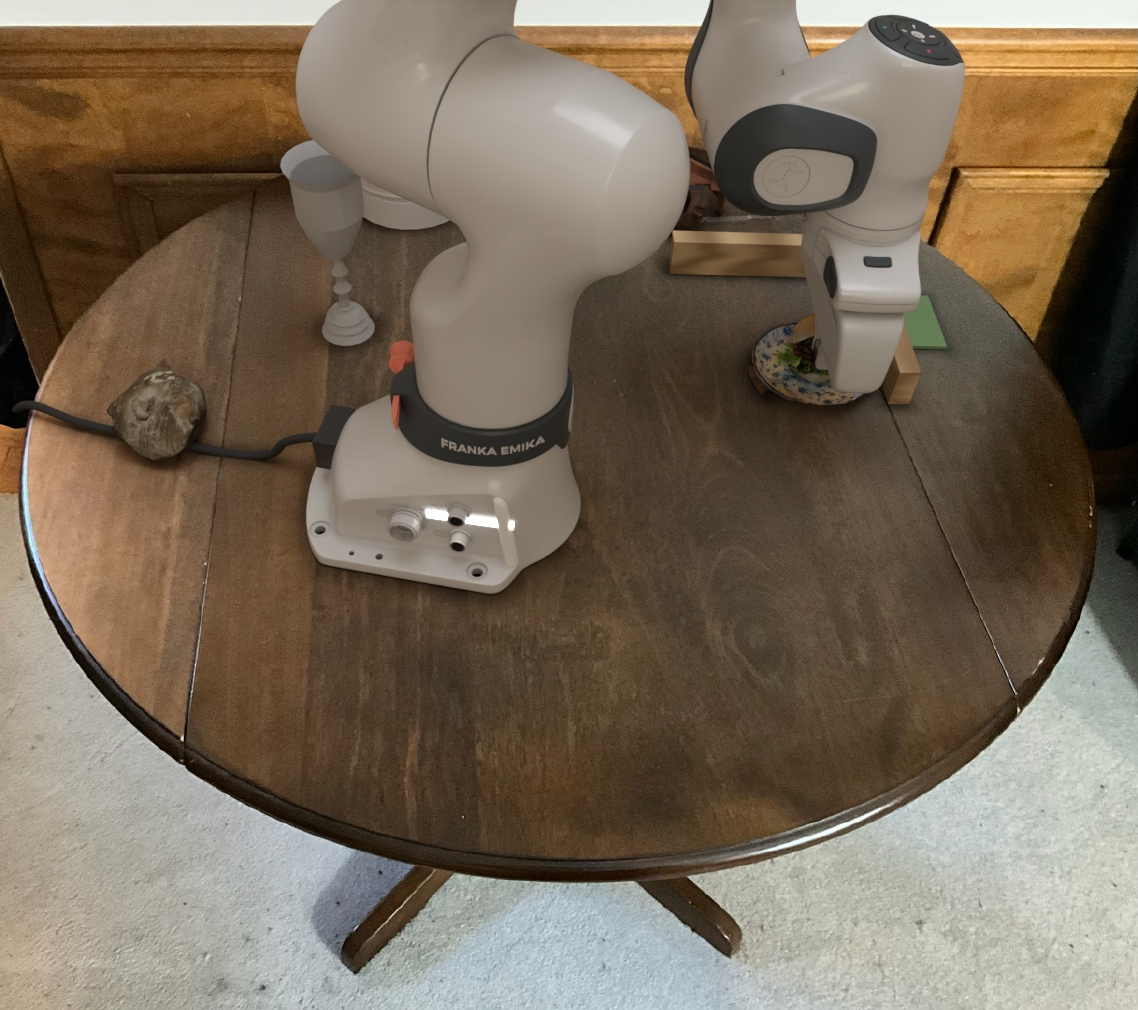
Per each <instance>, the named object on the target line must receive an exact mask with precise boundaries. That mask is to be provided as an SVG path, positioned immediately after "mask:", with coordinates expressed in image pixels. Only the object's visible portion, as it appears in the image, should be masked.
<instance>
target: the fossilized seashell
mask: <svg viewBox="0 0 1138 1010" xmlns="http://www.w3.org/2000/svg"><path fill="white" fill-rule="evenodd" d="M207 407H208V406H207V399H206V394H205V391H204V389H203V388H202V387H201V385H200V384H199V383H198V382H195V381H191V380H189V379H187V378H186V377H185V376H184V375H182V374H180V373H179V372H178V371H177V370H176V369H175V368H174V366H173V365H172V364H171V363H170V362H169V361H168V360H167V359H166V358H163V359H162V360H161V361H159V363H157V364H155V366H152V367H151V368H149V369H147V370H145V371H144V372H143V373H141V374H140V375H139V376H138V377H137V379H135V381H134V382H133V383H132V384H130V386H129V387H128V388H127V389H126V390H125V391H124V392H123V393H122V394H120V395H118V397H116V399H114V400H113V401H112V402H111V403H110V404H109V406H108V407H107V409H106V413H107V414H108V416H109V417H110V418H111V419H112V422H113V427H114V429H115V431H116V432H117V433H118V435H119V436H120V437H119V438H121V439H122V440H123V441H124V442H125V443H126V444H127V445H128V446H129V447H130V448H131V449H132V450H133V451H134V452H135V453H136V454H137V455H139V456H140V457H141V458H145V459H146V460H150V461H154V462H157V461H158V462H161V461H164V460H168V459H169V460H170V459H172V458H175V457H176V456H178V455H179V454H181V453H182V452H183V451H185V450H186V449H185V448H187V447H188V446H190V445H191V443H193V442H196V440H197V438H198V437H199V435H200V433H201V430H202V429H203V427H204V424H205V422H206V419H207V411H208V409H207Z"/></svg>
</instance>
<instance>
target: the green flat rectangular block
mask: <svg viewBox="0 0 1138 1010" xmlns="http://www.w3.org/2000/svg"><path fill="white" fill-rule="evenodd" d="M904 324H905V327H906V330H907V333H908V335H909V338H910V341H911V344H912V347H913V350H947V348H948V344H947V342H946V340H945V337H944V334H943V332H942V329H941V327H940V324H939V320H938V318H937V315H936V313H935V311H934V308H933V305H932V302H931V300H930V297H929V295H922V294H921V296H920V300H919V303H918V305H917V308H916V310H915V311H914V312H905V319H904Z"/></svg>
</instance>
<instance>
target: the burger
mask: <svg viewBox="0 0 1138 1010" xmlns="http://www.w3.org/2000/svg"><path fill="white" fill-rule="evenodd" d="M814 333H815V313H813V314H810V315H807V316H805V317H804V318H802V319H801V320H800V321H799V322H798V321H797V322H791V323H784V324H780V325H777V326H775V327H772V328H770V329H768V330H767V331H766V332H764V333H763V334H762V335H761V336H760V337H759V338H758V339H756V342H755V343H754V346H753V348H752V354H751V355H750V358H749V362H748V375H749V378H750V380H751V382H752V384H753V385H754V386H755V388H756V390H757V392H759V394H761V395H764V393H766V392H767V391H771V392H772V393H774V394H775V395H776V396H777V397H780V398H782V399H783V400H786V401H793V402H799V403H802V404H804V405H810V406H825V407H826V406H833V405H834V406H835V405H846V404H850V403H852V402H854V401H856V400H857V399H858V398H861V397H862V396H864V395H866V394H867V393H840V392H836V391H834V390H833V389H832V386H831V381H830V377H829V373H828V370H819V369H817V368H816V365H815V360H814V356H813V352H812V343H813V339H814V336H815V334H814Z"/></svg>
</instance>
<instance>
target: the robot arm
mask: <svg viewBox="0 0 1138 1010" xmlns="http://www.w3.org/2000/svg"><path fill="white" fill-rule="evenodd" d="M517 4H518V0H339V1H338V2H336V3H335V4H333V5H332V6H331V7H329V8H328V9H327V10H325V12H324V13H323V14H321V16H320V17H319V18H318V20H317V21H316V22H315V24H313V26H312V28H311V29H310V31H309V33H308V35H307V36H306V39H305V41H304V42H303V45H302V48H301V51H300V54H299V57H298V62H297V66H296V67H297V68H296V72H295V98H296V105H297V109H298V115H299V118H300V120H301V123H302V125H303V127H304V129H305V131H306V133H307V134H308V136H309V137H310V138H311V139H312V140H314V141H315V142H316V143H317V144H318V145H319V146H321V147H322V148H323V149H324V150H326V151H327V152H328V153H329V154H331V155H332V156H333V157H334V158H336V159H337V160H338V161H339V162H341V163H342V164H343V165H345V166H346V167H347V168H349V169H350V170H351V171H353V172H354V173H355V174H357V175H358V176H360V177H361V178H362V179H364V180H365V181H367V182H368V183H370V184H372V185H375V186H377V187H379V188H381V189H384V190H386V191H388V192H390V193H393V194H395V195H397V196H399V197H402V198H404V199H406V200H408V201H411V202H413V203H415V204H417V205H420V206H422V207H424V208H426V209H429V210H431V211H433V212H435V213H438V214H440V215H442V216H444V217H446V218H447V219H448V220H449V221H450V222H451V223H453V224H454V225H456V226H457V227H458V228H459V230H460V231H461V233H462V235H463V237H464V239H465V241H464V242H461V243H458V244H457V245H454V246H451V247H449V248H447V249H445V250H444V251H442V252H440V253H439V254H437V255H436V256H435V257H434V258H432V259H431V260H430V261H429V262H428V263H427V265H425V267H424V268H423V270H422V271H421V272H420V275H419V277H417V279H416V282H415V283H414V286H413V289H412V291H411V295H410V297H409V298H410V299H409V316H410V318H409V319H410V326H411V327H410V328H411V336H412V342H410V341H408V340H397V341H395V342H394V343H393V344H392V345H391V347H390V358H389V360H388V367H389V369H390V370H391V371H392V372H393V373H394V375H393V376H392V378H391V381H390V387H389V394H386V395H385V396H383V397H380V398H378V399H375V400H374V401H371V402H369V403H367V404H364V405H362V406H360V407H359V408H357V409H355V408H353V407H347V406H342V405H337V404H331V405H330V407H329V409H328V411H327V412H326V414H325V416H324V418H323V420H322V421H321V423H320V425H319V427H318V429H317V430H316V431H313V432H303V433H297V434H292V435H287V436H286V437H284V438H281V439H280V440H278V441H277V442H276V443H275V445H274V446H273V447H271V448H270V449H264V450H238V449H230V448H226V447H225V448H224V447H219V446H215V445H214V446H213V445H209V444H205V443H200V442H196V441H194V442H193V443H191V445H190V446H188V447H187V448H185V449H184V450H187V451H191V452H195V453H200V454H205V455H210V456H213V457H214V456H215V457H222V458H229V459H237V460H248V461H250V460H251V461H265V460H271V459H274V458H276V457H278V456H279V455H280V454H281V453H282V452H283V451H284V450H285V449H286V448H287V447H290V446H293V445H297V444H305V443H311V445H312V449H313V453H314V459H315V463H316V467H315V469H314V472H313V474H312V478H311V480H310V484H309V488H308V493H307V498H306V499H307V500H306V507H305V525H306V536H307V540H308V544H309V546H310V549H311V552H312V553H313V555H314V557H315V558H316V560H317V561H318V562H319V563H320V564H322V565H326V566H329V567H333V568H334V567H335V568H339V569H344V570H345V569H346V570H351V571H357V572H363V573H368V574H374V575H380V576H384V577H385V576H386V577H392V578H397V579H402V580H408V581H413V582H419V583H425V584H430V585H437V586H442V587H447V588H454V589H459V590H466V591H471V592H476V593H482V594H489V595H492V594H498V593H500V592H502V591H503V590H505V589H506V588H508V586H510V584H511V583H512V582H513V581H514V580H515V579H516V577H517V576H518V575H519V574H520V573H521V571H523V570H524V569H526V568H528V567H529V566H530V565H532V564H534V563H537V562H539V561H540V560H542V559H545V558H546V557H547V556H549V555H551V554H552V553H554V552H555V551H557V549H559V548H560V547H561V546H562V545H563V544H564V543H565V542H566V541H567V540H568V539H569V537H570V536H571V535H572V533H573V531H574V530H575V528H576V526H577V524H578V520H579V519H580V514H581V506H582V501H581V500H582V498H581V492H580V488H579V486H578V483H577V480H576V478H575V476H574V473H573V468H572V464H571V459H570V449H569V440H570V436H571V432H572V429H573V420H574V402H575V387H574V383H573V373H572V369H571V366H570V364H569V357H570V356H569V355H570V346H571V337H572V327H573V320H574V314H575V310H576V306H577V303H578V302H579V299H580V297H581V296H582V294H583V293H584V291H585V290H586V289H588V288H589V287H590V286H591V285H592V284H594V283H595V282H597V281H599V280H601V279H605V278H608V277H613V276H617V275H621V274H623V273H625V272H627V271H629V270H631V269H634V268H635V267H637V266H638V265H640V264H642V263H643V262H645V261H646V260H647V259H648V258H650V257H651V256H652V255H653V254H655V253H656V252H657V251H658V249H659V248H660V247H661V246H662V245H663V244H664V243H665V241H666V240H667V239H668V238H669V236H670V235H672V231H674V229H675V228H676V227H675V225H676V223H677V222H678V220H679V217H680V215H681V213H682V210H683V208H684V205H685V201H686V198H687V194H688V189H689V182H690V157H689V152H690V149H689V145H688V142H687V137H686V133H685V130H684V128H683V125H682V123H681V120H680V119H679V117H678V116H677V115H676V113H674V112H673V111H671V110H670V109H668V108H667V107H666V106H664V105H663V104H661V103H660V102H659V101H657V100H655V99H653V98H652V96H650V95H648V94H646V93H645V92H644V91H642V90H641V89H639V88H637V87H636V86H634V85H633V84H631V83H629V82H628V81H626V80H625V79H623V78H622V77H620V76H619V75H617V74H615V73H614V72H612V71H610V70H607V69H604V68H602V67H598V66H596V65H593V64H590V63H588V62H584V61H581V60H578V59H576V58H573V57H570V56H569V55H565V54H563V53H559V52H557V51H554V50H552V49H548V48H545V47H543V46H540V45H537V44H534V43H532V42H529V41H526V40H523V39H522V38H521V37H519V36H517V34H516V29H515V12H516V9H517ZM797 12H798V11H797V0H709V3H708V7H707V10H706V13H705V16H704V18H703V21H702V23H701V25H700V27H699V30H698V32H697V34H696V36H695V38H694V40H693V42H692V43H693V44H692V45H691V48H690V50H689V53H688V54H687V55H688V56H687V59H686V63H685V67H684V68H685V69H684V78H683V82H684V83H683V84H684V85H683V86H684V92H685V96H686V99H687V102H688V104H689V106H690V108H691V111H692V113H693V115H694V117H695V119H696V121H697V124H698V127H699V131H700V134H701V137H702V138H701V139H702V142H703V145H704V149H705V151H706V154H707V156H708V161H709V162H710V164H711V167H712V170H713V173H714V176H715V180H716V183H717V185H718V188H719V190H720V191H721V193H722V194H723V196H724V197H725V199H726V201H727V202H729V204H731V205H732V206H734V207H735V208H737V209H739V210H740V211H743V212H744V213H748V214H751V215H755V216H760V217H782V216H783V217H784V216H792V215H794V216H795V215H804V214H806V218H805V222H804V227H803V231H802V233H801V234H802V241H801V258H802V262H803V267H804V271H805V275H806V277H805V280H806V283H807V287H808V292H809V296H810V300H811V304H812V309H813V312H814V313H813V314H815V333H814V334H815V336H814V339H813V343H812V352H813V356H814V360H815V365H816V368H817V369H819V370H828V373H829V377H830V381H831V386H832V389H833V390H834V391H836V392H840V393H866V394H871V393H873V392H876V391H878V390H879V388H881V386H882V382H883V381H884V378H885V376H886V374H887V372H888V369H889V367H890V365H891V362H892V360H893V357H894V355H895V352H896V349H897V347H898V344H899V341H900V338H901V335H902V332H903V327H904V319H905V312H914V311H915V310H916V308H917V305H918V303H919V300H920V296H921V295H922V286H921V275H920V261H919V255H920V253H919V251H920V244H921V239H922V238H921V237H922V233H921V231H920V230H921V227H922V224H923V222H924V219H925V217H926V213H927V210H928V206H929V189H930V185H931V182H932V180H933V179H934V177H935V175H936V174H937V173H938V171H939V170H940V168H941V167H942V165H943V162H944V160H945V157H946V154H947V152H948V148H949V145H950V142H951V139H952V136H953V134H954V133H953V132H954V129H955V126H956V122H957V118H958V114H959V110H960V106H961V102H962V97H963V92H964V86H965V79H966V78H965V77H966V65H965V60H964V58H963V57H962V55H961V53H960V51H959V50H958V48H957V46H956V45H955V44H954V43H953V41H952V40H951V39H950V38H949V37H948V36H947V35H946V34H944V32H943V31H941V30H939V29H937V28H936V27H934V26H931V25H930V24H929V23H927V22H925V21H921V20H919V19H917V18H913V17H909V16H905V15H901V14H882V15H876V16H873V17H871V18H870V19H868V20H867V21H866V22H865V23H864V24H863V25H862V26H861V27H860V28H859V30H858V31H857V32H855V33H853V35H851V36H850V37H848V38H847V39H845V40H843V41H842V42H840V43H839V44H837V45H836V46H834V47H832V48H830V49H827V50H826V51H824V52H821V53H820V54H818V55H815V56H813V57H812V56H811V55H812V54H811V51H810V49H809V46H808V43H807V40H806V38H805V35H804V31H803V30H802V27H801V25H800V22H799V17H798V13H797ZM26 410H32V411H37V412H40V413H42V414H45V415H48V416H50V417H52V418H54V419H57V420H58V421H61V422H63V423H66V424H68V425H72V426H73V427H77V428H81V429H85V430H88V431H93V432H97V433H101V434H104V435H109V436H114V437H118V438H121V437H120V436H119V435H118V433H117V432H116V431H115V429H114V425H109V424H104V423H100V422H96V421H92V420H88V419H85V418H80V417H77V416H75V415H71V414H70V413H67V412H64V411H62V410H60V409H58V408H55V407H53V406H50V405H48V404H45V403H43V402H40V401H36V400H23V401H19V402H17V403H16V404H15V405H14V406H13V407H12V408H11V411H12V412H13V413H15V414H16V413H17V414H19V413H22V412H24V411H26ZM319 533H320V534H319ZM474 575H480V576H474Z"/></svg>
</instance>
